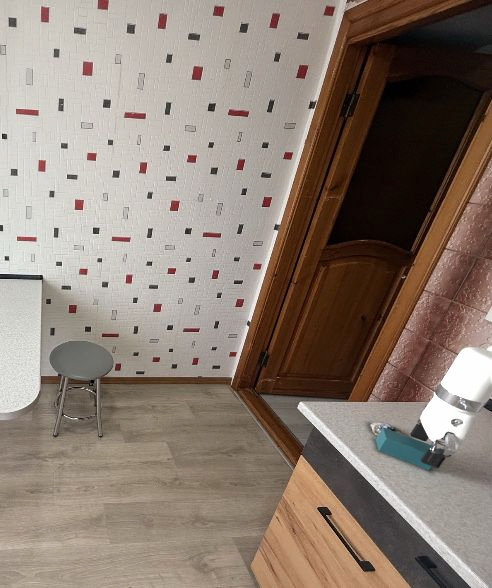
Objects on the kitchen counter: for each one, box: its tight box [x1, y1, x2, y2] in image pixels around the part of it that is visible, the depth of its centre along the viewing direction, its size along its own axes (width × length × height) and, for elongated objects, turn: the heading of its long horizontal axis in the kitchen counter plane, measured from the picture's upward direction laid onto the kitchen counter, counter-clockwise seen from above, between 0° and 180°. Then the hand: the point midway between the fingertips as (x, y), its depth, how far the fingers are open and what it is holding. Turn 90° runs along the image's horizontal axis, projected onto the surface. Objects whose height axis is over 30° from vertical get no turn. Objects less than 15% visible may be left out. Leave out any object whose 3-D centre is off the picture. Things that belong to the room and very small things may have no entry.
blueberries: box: [370, 421, 402, 437], centre depth 93 cm, size 7×8×2 cm
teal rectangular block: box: [375, 428, 432, 471], centre depth 85 cm, size 10×4×4 cm, turn 58°
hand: (422, 450), depth 84 cm, fingers open, 9 cm apart
